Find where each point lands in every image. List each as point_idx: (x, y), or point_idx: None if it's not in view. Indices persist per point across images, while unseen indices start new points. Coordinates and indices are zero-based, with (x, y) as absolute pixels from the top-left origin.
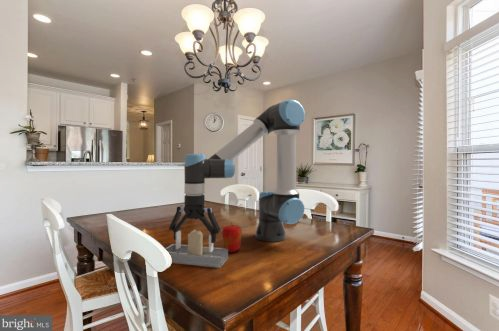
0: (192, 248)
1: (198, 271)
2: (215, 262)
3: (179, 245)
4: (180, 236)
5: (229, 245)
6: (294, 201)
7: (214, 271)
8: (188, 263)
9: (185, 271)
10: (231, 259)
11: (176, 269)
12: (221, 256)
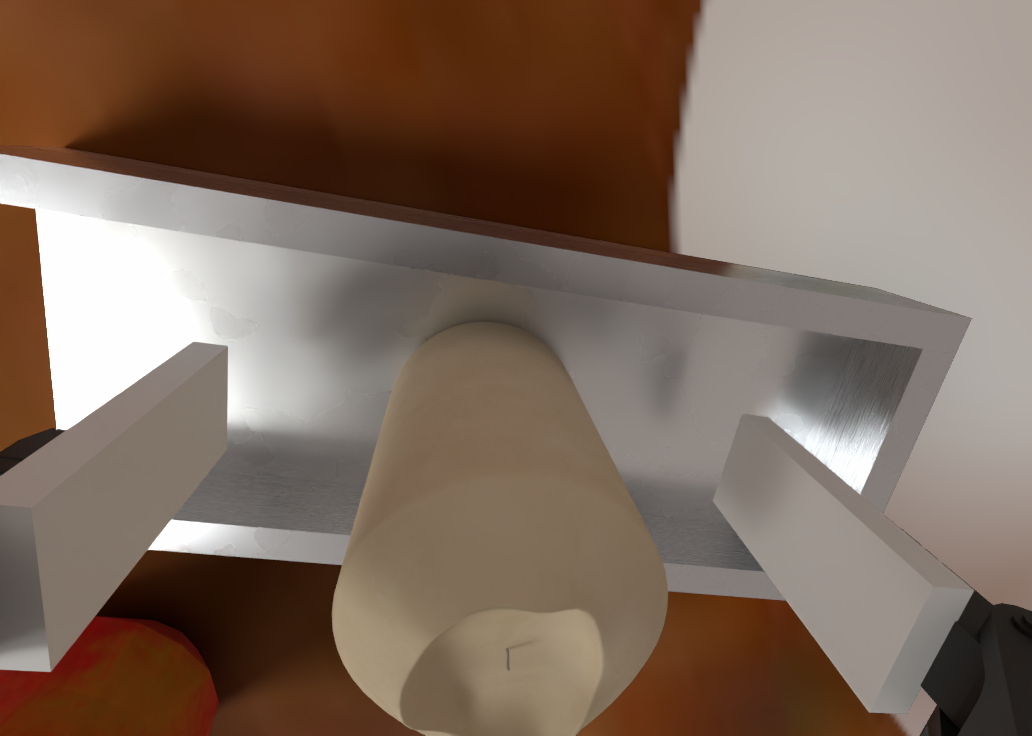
0: (502, 366)
1: (317, 15)
2: (87, 158)
3: (741, 483)
4: (803, 601)
5: (60, 666)
6: None
7: (92, 28)
8: (516, 226)
9: (492, 5)
10: (28, 435)
11: (625, 67)
12: None
